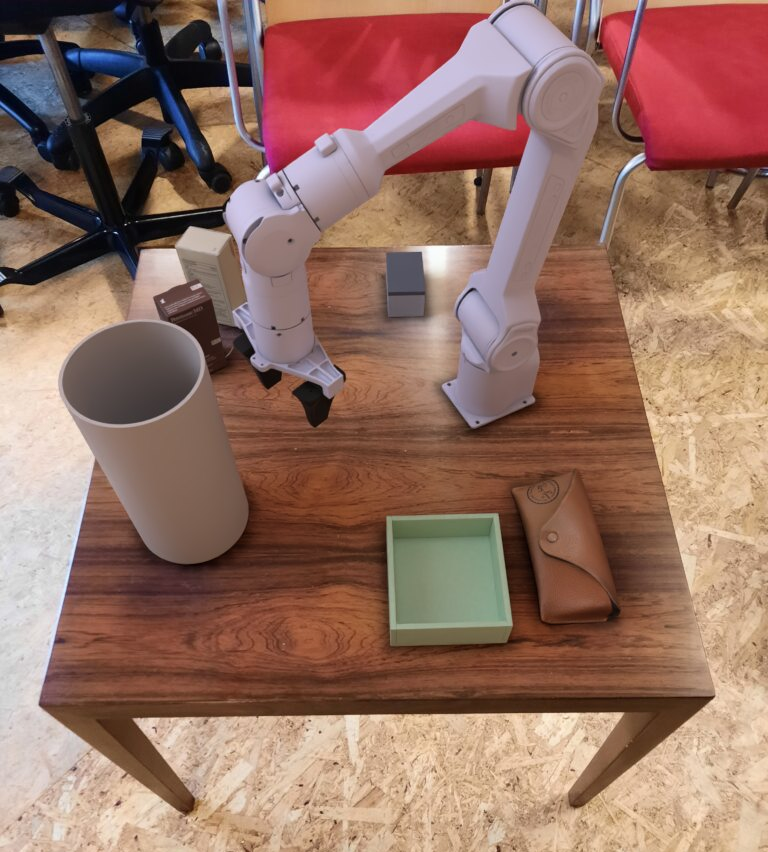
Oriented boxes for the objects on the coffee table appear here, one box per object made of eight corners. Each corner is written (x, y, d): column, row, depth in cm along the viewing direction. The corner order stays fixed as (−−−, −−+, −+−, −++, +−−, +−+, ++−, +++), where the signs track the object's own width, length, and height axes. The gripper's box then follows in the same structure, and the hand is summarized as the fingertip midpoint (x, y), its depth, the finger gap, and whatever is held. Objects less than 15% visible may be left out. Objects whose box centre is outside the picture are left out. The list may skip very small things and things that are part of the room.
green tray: (492, 533, 84) (498, 512, 80) (506, 643, 77) (513, 625, 73) (386, 536, 84) (386, 515, 80) (390, 646, 77) (390, 629, 73)
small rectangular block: (420, 277, 106) (421, 251, 102) (423, 316, 102) (425, 291, 98) (386, 277, 106) (386, 252, 102) (388, 317, 102) (388, 292, 98)
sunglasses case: (505, 485, 87) (543, 454, 82) (550, 497, 90) (588, 467, 85) (541, 627, 77) (585, 601, 73) (589, 633, 81) (634, 609, 76)
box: (189, 386, 95) (165, 317, 85) (174, 364, 97) (149, 294, 87) (230, 367, 97) (212, 297, 87) (215, 346, 99) (195, 275, 89)
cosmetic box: (250, 307, 103) (235, 234, 93) (237, 329, 101) (219, 256, 90) (209, 297, 104) (189, 223, 94) (195, 318, 102) (173, 244, 92)
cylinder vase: (255, 556, 82) (210, 414, 61) (142, 576, 81) (56, 438, 60) (244, 466, 89) (199, 310, 67) (139, 483, 87) (60, 330, 66)
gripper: (198, 292, 70) (225, 386, 82) (300, 371, 65) (313, 460, 77) (255, 257, 73) (273, 353, 85) (357, 330, 68) (361, 422, 79)
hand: (295, 402), depth 81 cm, fingers open, 7 cm apart
